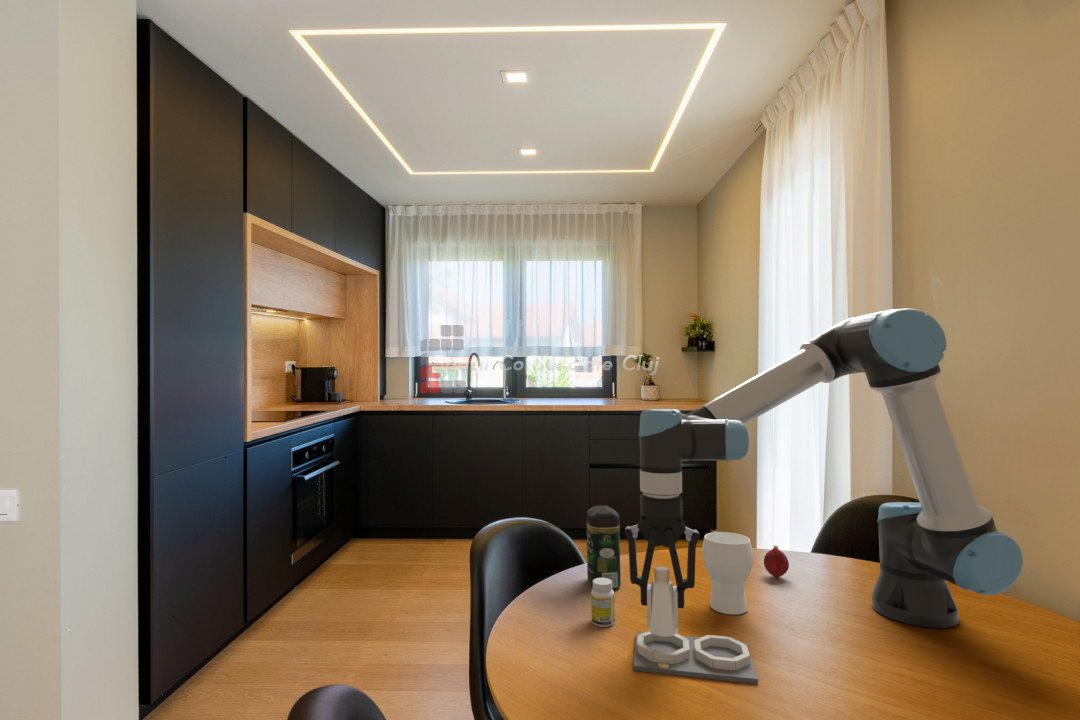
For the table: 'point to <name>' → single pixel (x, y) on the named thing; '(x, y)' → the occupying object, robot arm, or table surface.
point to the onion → (776, 562)
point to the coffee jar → (603, 545)
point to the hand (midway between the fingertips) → (662, 624)
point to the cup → (727, 570)
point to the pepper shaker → (662, 604)
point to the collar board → (695, 657)
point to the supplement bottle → (602, 603)
